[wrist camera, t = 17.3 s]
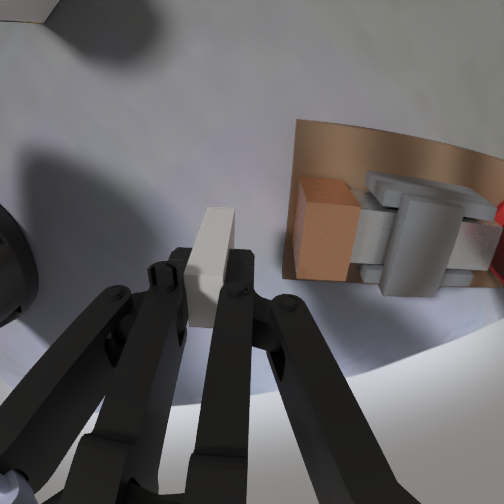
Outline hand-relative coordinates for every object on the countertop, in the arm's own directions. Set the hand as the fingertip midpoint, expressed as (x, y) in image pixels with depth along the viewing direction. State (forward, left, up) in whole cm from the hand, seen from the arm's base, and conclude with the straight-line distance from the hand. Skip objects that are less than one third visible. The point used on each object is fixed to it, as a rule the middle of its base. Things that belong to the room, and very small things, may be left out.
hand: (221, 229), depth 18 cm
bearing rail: (+17, 0, -6) cm, 18 cm away
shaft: (+12, 0, -4) cm, 13 cm away
